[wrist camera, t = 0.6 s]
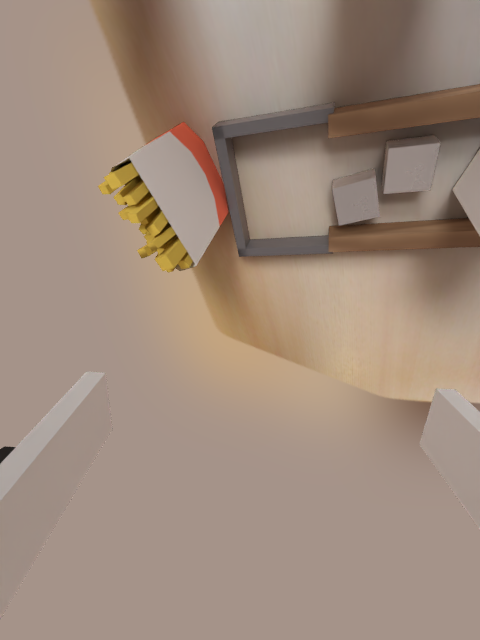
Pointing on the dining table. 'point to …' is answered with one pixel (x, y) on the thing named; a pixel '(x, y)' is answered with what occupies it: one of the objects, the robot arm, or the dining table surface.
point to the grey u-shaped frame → (232, 185)
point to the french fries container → (171, 197)
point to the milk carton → (470, 191)
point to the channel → (395, 116)
